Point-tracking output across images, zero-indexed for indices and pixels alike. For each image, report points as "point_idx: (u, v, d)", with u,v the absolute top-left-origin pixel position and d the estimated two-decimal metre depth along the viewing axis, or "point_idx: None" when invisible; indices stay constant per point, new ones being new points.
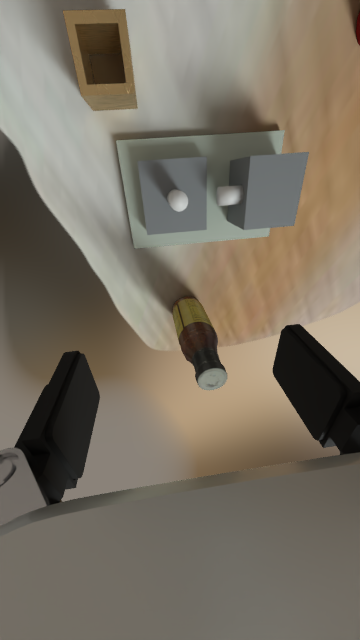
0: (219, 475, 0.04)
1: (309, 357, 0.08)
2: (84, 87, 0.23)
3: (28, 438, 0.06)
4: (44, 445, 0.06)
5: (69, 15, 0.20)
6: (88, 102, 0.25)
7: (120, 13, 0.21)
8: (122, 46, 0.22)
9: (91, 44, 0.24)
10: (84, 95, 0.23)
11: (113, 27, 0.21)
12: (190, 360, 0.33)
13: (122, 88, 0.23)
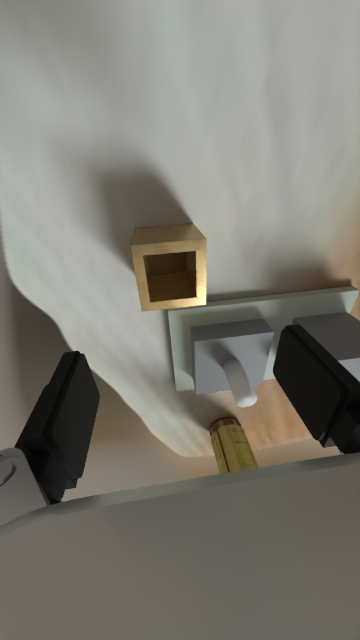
0: (219, 475, 0.04)
1: (309, 357, 0.08)
2: (146, 304, 0.19)
3: (28, 438, 0.06)
4: (44, 445, 0.06)
5: (138, 249, 0.16)
6: None
7: (200, 242, 0.17)
8: (197, 269, 0.18)
9: None
10: None
11: None
12: None
13: (191, 301, 0.19)
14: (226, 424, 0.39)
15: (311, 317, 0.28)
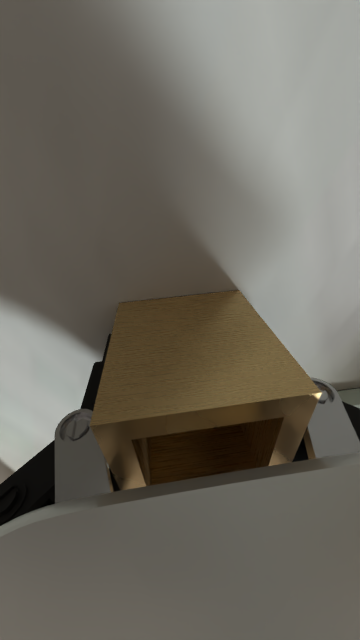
0: (219, 475, 0.04)
1: None
2: None
3: None
4: None
5: (116, 429, 0.05)
6: None
7: (301, 401, 0.06)
8: (278, 446, 0.07)
9: None
10: None
11: None
12: None
13: None
14: None
15: None
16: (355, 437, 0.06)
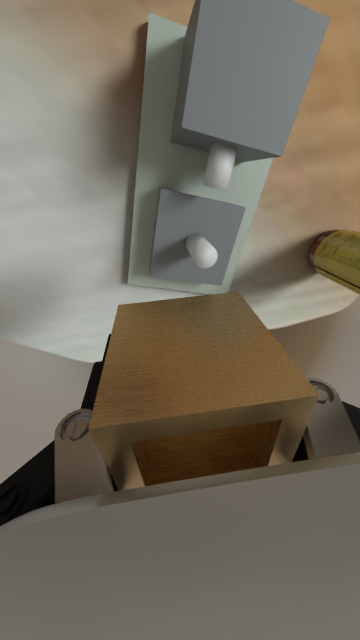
0: (219, 475, 0.04)
1: None
2: None
3: None
4: None
5: (115, 432, 0.05)
6: None
7: (299, 403, 0.06)
8: (277, 448, 0.07)
9: None
10: None
11: None
12: None
13: None
14: (315, 251, 0.30)
15: (174, 112, 0.20)
16: (355, 437, 0.06)
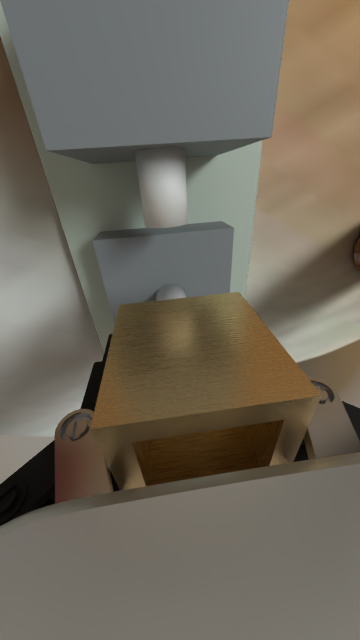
0: (219, 475, 0.04)
1: None
2: None
3: None
4: None
5: (116, 433, 0.05)
6: None
7: (301, 404, 0.06)
8: (278, 448, 0.07)
9: None
10: None
11: None
12: None
13: None
14: None
15: None
16: (355, 437, 0.06)
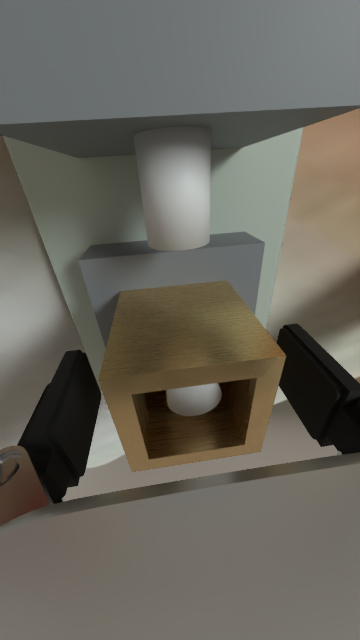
0: (219, 475, 0.04)
1: (307, 356, 0.08)
2: (141, 463, 0.09)
3: (31, 436, 0.06)
4: (47, 443, 0.07)
5: (119, 384, 0.07)
6: None
7: (270, 363, 0.07)
8: (255, 406, 0.08)
9: None
10: (140, 470, 0.09)
11: None
12: None
13: (232, 451, 0.09)
14: None
15: None
16: None
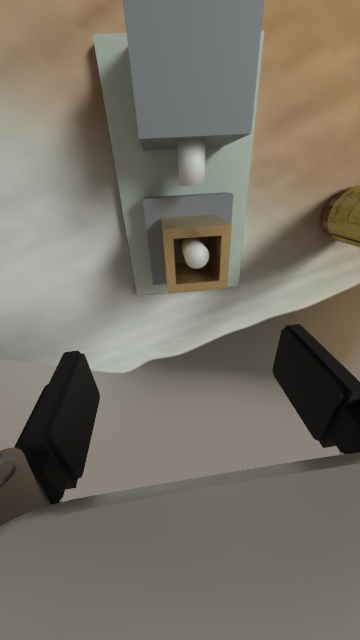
0: (219, 475, 0.04)
1: (309, 357, 0.08)
2: (172, 286, 0.20)
3: (28, 438, 0.06)
4: (44, 445, 0.06)
5: (169, 232, 0.18)
6: None
7: (226, 227, 0.18)
8: (222, 253, 0.19)
9: None
10: (171, 292, 0.21)
11: None
12: None
13: (213, 285, 0.21)
14: (328, 218, 0.27)
15: None
16: None
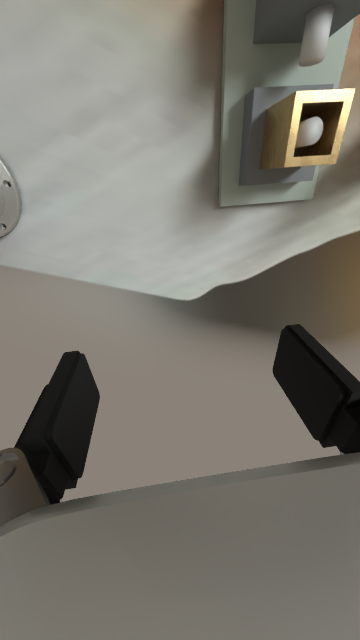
0: (219, 475, 0.04)
1: (309, 357, 0.08)
2: (290, 159, 0.23)
3: (28, 438, 0.06)
4: (44, 445, 0.06)
5: (301, 95, 0.20)
6: None
7: (349, 92, 0.20)
8: (340, 122, 0.21)
9: None
10: (287, 167, 0.23)
11: (333, 103, 0.21)
12: None
13: (325, 159, 0.23)
14: None
15: (256, 11, 0.23)
16: None
